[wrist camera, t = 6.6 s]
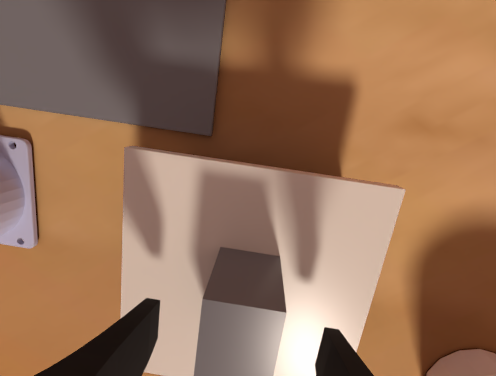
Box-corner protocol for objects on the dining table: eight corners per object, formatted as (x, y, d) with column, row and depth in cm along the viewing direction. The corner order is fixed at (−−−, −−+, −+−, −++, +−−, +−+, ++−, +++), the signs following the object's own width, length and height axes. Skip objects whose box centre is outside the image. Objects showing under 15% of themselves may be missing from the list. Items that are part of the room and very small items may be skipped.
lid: (126, 356, 16) (71, 450, 12) (132, 145, 13) (60, 159, 8) (336, 391, 16) (365, 502, 11) (397, 185, 13) (473, 222, 8)
